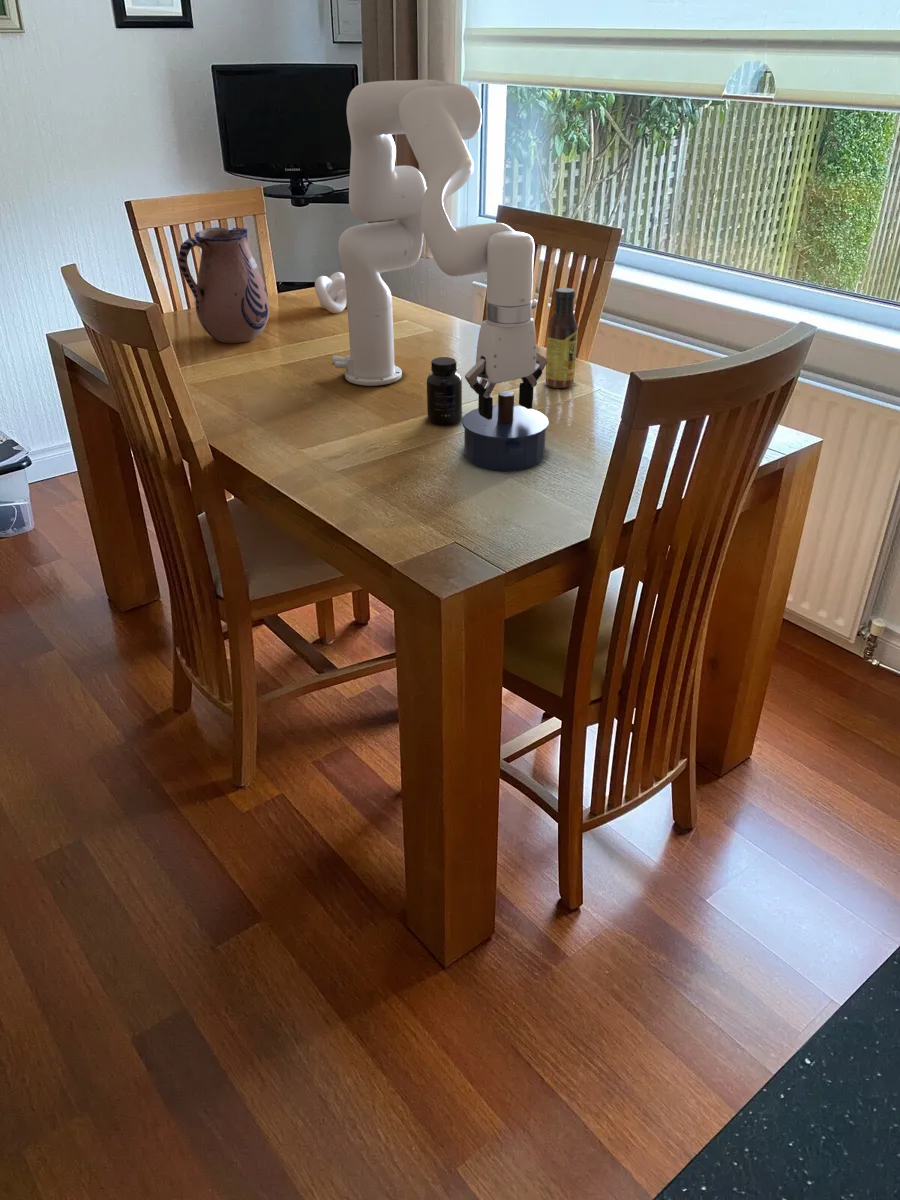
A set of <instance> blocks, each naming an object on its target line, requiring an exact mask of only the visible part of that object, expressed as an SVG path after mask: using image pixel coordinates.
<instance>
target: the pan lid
mask: <svg viewBox="0 0 900 1200" xmlns="http://www.w3.org/2000/svg"><path fill="white" fill-rule="evenodd" d="M461 424H462V427H463V429H464V428H465V429H466V430H467V431H468V432H470V433H471V434H473V435H476V436H479V437H482V438H487V439H492V440H507V441H508V440H522V439H527V438H531V437H535V436H537V435H540V434H542V433H543V432H545V431H546V432H547V429H548V428H549V424H550V422H549V418H548V417H547V416H546V415H545V413H542V412H541V411H538V410H536V409H534V408H532V409H527V408H525V407H523V406H521V405H515V393H514V392H513V391H509V390H504V391H503V390H502V391H500V392H498V393H497V405H496V404H495V405H493V408H492V419H489V420H488V419H486V418H484V417H483V416H481V415H480V414H479V410H478V408H475V409H472V410H470V411H469V412H467V413H466V414H464V416H462V419H461Z"/></svg>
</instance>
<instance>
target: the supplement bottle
mask: <svg viewBox="0 0 900 1200" xmlns="http://www.w3.org/2000/svg"><path fill="white" fill-rule="evenodd" d="M430 364H431V366H430V367H431V368H430V371H431V373H429V374H428V376H427V378H426V405H427V406H426V407H427V408H426V409H427V411H426V412H427V419H428V422H429V423H431V424H433V425H435V426H439V427H449V426H454V425H457V424H459V423H460V422H461V421H462V420H463V383H462V382H463V379H462V376H461V374H459V373H458V372H457V371H458V367H457V360H456V359H455V358H453V357H450V356H439V357H435V358H432V359H431V362H430Z"/></svg>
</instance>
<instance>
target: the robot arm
mask: <svg viewBox="0 0 900 1200" xmlns="http://www.w3.org/2000/svg"><path fill="white" fill-rule="evenodd" d="M482 112H483V111H482V108H481V104H480V102H479V99H478V97H477V96H476V94H475V93H474V92H473V90H471V88H469V87H468V86H466V85H463V84H458V83H453V82H448V81H443V80H437V79H410V80H409V79H408V80H400V79H399V80H379V81H369V82H368V81H367V82H362V83H360V84H357V85H356V86H354V88H352V90H351V91H350V92H349V95H348V97H347V102H346V120H347V127H348V132H349V136H350V163H349V164H350V165H349V184H348V185H349V186H348V205H349V209H350V212H351V215H352V216H353V217H354V218H355V219H357V220H359V221H361V222H368V223H361V224H356V225H354V226H353V225H352V226H350V227H347V229H345V230H344V231H343V232H342V233H341V234H340V236H339V238H338V243H337V244H338V245H337V247H338V248H337V249H338V255H339V259H340V263H341V269H342V273H343V274H344V278H345V285H346V295H347V320H348V321H347V322H348V336H349V337H348V338H349V339H348V340H349V353H350V354H349V355H346V356H341V355H339V356H338V355H333V356H332V358H331V363H332V365H333V366H334V367H335V369H345V370H344V378H345V380H346V381H347V382H349V383H351V384H354V385H358V386H367V387H377V386H384V385H390V384H393V383H395V382H398V381H399V380H400V379H402V377H403V371H402V369H401V367H400V366H397V365H395V340H394V316H393V315H394V314H393V313H394V312H393V296H392V292H391V290H390V288H389V286H388V285H387V283H386V282H385V281H384V279H382V277H381V276H382V275H381V274H382V273H386V272H392V271H397V270H398V271H399V270H403V269H408V268H412V267H414V266H416V265H417V263H418V262H419V260H420V258H421V255H422V251H423V245H424V240H425V243H426V244H427V247H428V249H429V252H430V253H431V255H432V258H433V260H434V262H435V263H436V265H437V266H438V268H439V270H440V271H442V272H443V273H444V274H445V275H447V276H450V277H461V276H469V275H475V274H481V273H486V306H485V308H486V309H485V314H486V315H485V320H482V321H481V325H480V328H479V332H478V337H477V346H476V355H475V364H474V365H473V366H471V368H470V369H469V370H468V371H467V372H466V373H465V374H464V379H465V380H466V382H467V384H468V385H469V387H470V388H471V389H472V390H473V391H474V392H475V394H477V395H478V402H477V404H478V406H477V407H478V408H477V409H478V410H479V414H480V415H481V416H483V417H484V418H486V419H488V420H489V419H492V408H493V406H494V405H493V403H494V402H493V401H494V398H493V397H492V396H491V394H492V392H493V390H494V389H495V387H496V385H497V384H501V383H506V382H509V381H510V382H511V381H514V380H518V379H520V380H521V382H519V385H518V386H519V387H518V388H519V389H518V404H519V405H518V406H521V407H525V408H527V409H533V401H534V388H535V387H536V386H537V384H538V381H539V379H540V377H541V376H542V375H543V371H544V369H545V368H546V364H547V361H548V360H547V359H546V357H545V356H543V355H541V354H540V353H538V352H537V335H536V334H537V333H536V326H535V321H534V318H533V317H532V310H533V309H536V308H537V302H536V301H535V300H533V287H534V286H533V284H534V266H535V265H534V262H535V261H534V260H535V241H534V238H533V236H531V235H530V234H529V233H526V232H523V231H516V230H515V229H513V228H512V227H511V226H509V225H508V224H505V223H504V222H503V223H502V222H488V223H487V222H486V223H480V224H479V223H478V224H470V225H463V226H456V227H454V226H453V225H452V223H451V221H450V219H449V216H448V214H447V211H446V209H445V206H444V200H446V199H447V198H448V197H450V196H451V195H453V194H454V193H456V192H457V191H458V190H460V189H461V188H462V187H464V185H466V183H467V182H468V181H469V180H470V179H471V177H472V175H473V173H474V169H475V164H474V160H473V158H472V155H471V154H470V152H469V148H468V147H467V144H466V143H465V141H466V140H471V139H472V138H474V137H475V136H476V135H477V134H478V133H479V131H480V129H481V126H482V120H483V113H482ZM392 135H393V136H394V135H405V137H406V140H407V141H408V145H409V146H410V148H411V150H412V153H413V155H414V157H415V159H416V161H417V164H418V166H419V168H420V170H419V169H418V168H416V167H415V166H413V165H396V157H397V147H396V142H395V140H394V138H393V136H392ZM369 222H370V223H369ZM478 378H480V380H478Z"/></svg>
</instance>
